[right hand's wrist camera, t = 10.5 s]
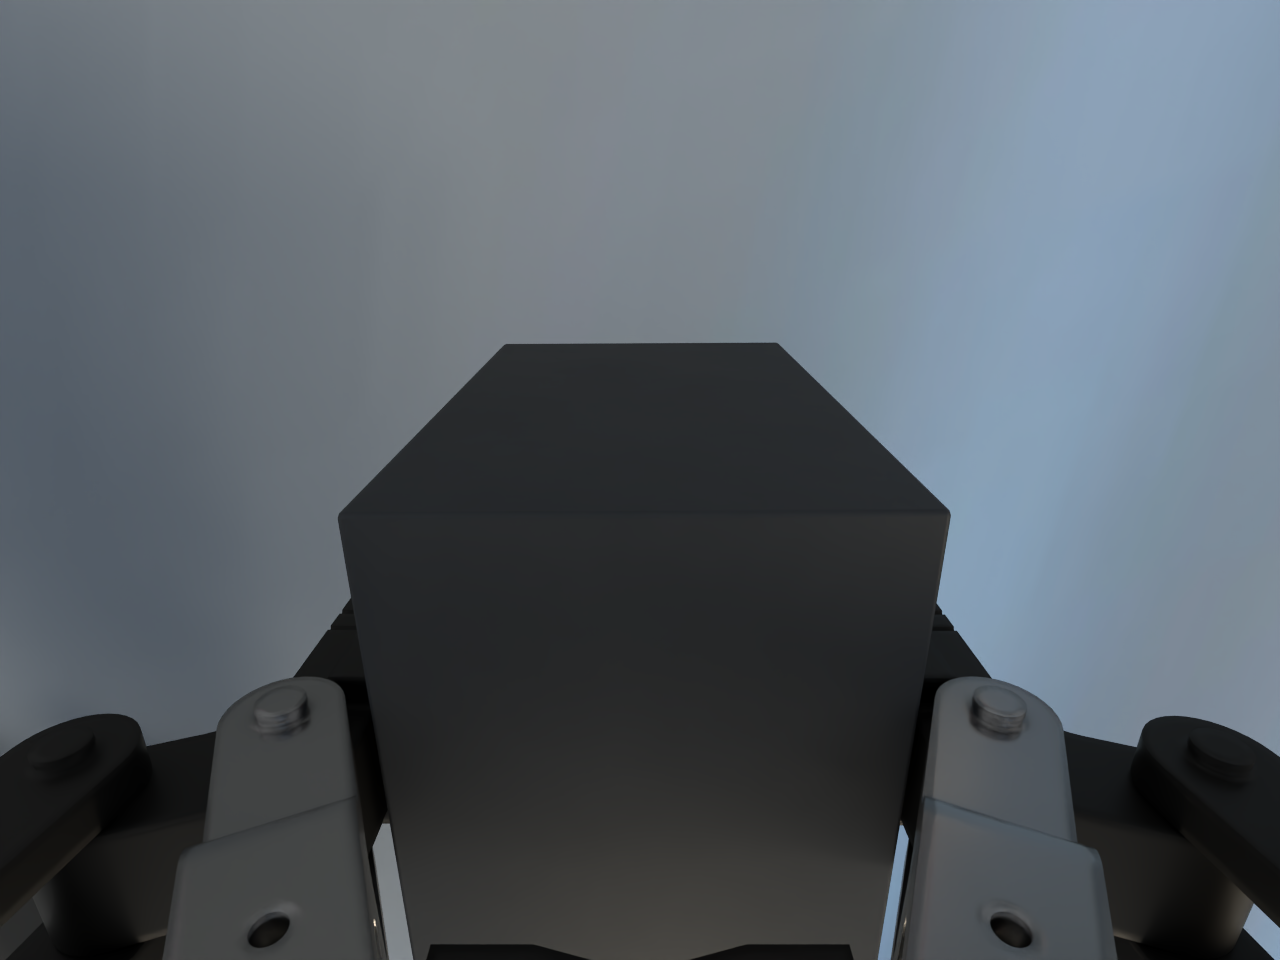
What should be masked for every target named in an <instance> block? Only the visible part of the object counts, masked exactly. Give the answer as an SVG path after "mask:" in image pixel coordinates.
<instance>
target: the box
mask: <svg viewBox="0 0 1280 960" xmlns="http://www.w3.org/2000/svg"><path fill="white" fill-rule="evenodd" d="M950 517H951V514H950V511H949V510H948V509H947V508H946V507H945V506H944V505H943V504H942V503H941V502H940V501H939V500H938V499H937V498H936V497H935V496H934V495H933V494H932V493H931V492H930V491H929V490H928V489H927V488H926V487H925V486H924V485H923V484H922V483H921V482H920V481H919V480H918V479H917V478H916V477H914V476H913V475H912V474H911V473H910V472H909V471H908V470H907V469H906V468H905V467H904V466H903V465H902V464H901V463H900V462H899V461H898V460H897V459H896V458H895V457H894V456H893V455H892V454H891V453H890V452H889V451H888V450H887V449H886V448H885V447H884V446H883V445H882V444H881V443H880V442H879V441H878V440H877V439H876V438H874V437H873V436H872V435H871V434H870V433H869V432H868V431H867V430H866V429H865V428H864V427H863V426H862V425H861V424H860V423H859V422H858V421H857V420H856V419H855V418H854V417H853V416H852V415H851V414H850V413H849V412H848V411H847V410H846V409H845V408H844V407H843V406H842V405H841V404H840V403H839V402H838V401H837V400H835V399H834V398H833V397H832V396H831V395H830V394H829V393H828V392H827V391H826V390H825V389H824V388H823V387H822V386H821V385H820V384H819V383H818V382H817V381H816V380H815V379H814V378H813V377H812V376H811V375H810V374H809V373H808V372H807V371H806V370H805V369H804V368H803V367H802V366H801V365H800V364H799V363H798V362H797V361H795V360H794V359H793V358H792V357H791V356H790V355H789V354H788V353H787V352H786V351H785V350H784V349H783V348H782V347H781V346H780V345H779V344H778V343H632V344H505V345H504V346H503V347H502V348H501V349H500V350H499V351H498V352H497V353H496V354H495V355H494V356H493V357H492V358H491V359H490V360H489V361H488V362H487V363H486V364H485V365H484V366H483V367H482V368H481V369H480V370H479V371H478V372H477V373H476V374H475V375H474V376H473V377H472V378H471V379H470V381H469V382H468V383H467V384H466V385H465V386H464V387H463V388H462V389H461V390H460V391H459V392H458V393H457V394H456V395H455V396H454V397H453V398H452V399H451V400H450V401H449V402H448V403H447V404H446V405H445V406H444V407H443V408H442V409H441V410H440V411H439V412H438V413H437V414H436V415H435V416H434V417H433V418H432V419H431V420H430V421H429V422H428V423H427V424H426V425H425V426H424V428H423V429H422V430H421V431H420V432H419V433H418V434H417V435H416V436H415V437H414V438H413V439H412V440H411V441H410V442H409V443H408V444H407V445H406V446H405V447H404V448H403V449H402V450H401V451H400V452H399V453H398V454H397V455H396V456H395V457H394V458H393V459H392V460H391V461H390V462H389V463H388V464H387V465H386V466H385V467H384V468H383V469H382V470H381V471H380V472H379V473H378V474H377V476H376V477H375V478H374V479H373V480H372V481H371V482H370V483H369V484H368V485H367V486H366V487H365V488H364V489H363V490H362V491H361V492H360V493H359V494H358V495H357V496H356V497H355V498H354V499H353V500H352V501H351V502H350V503H349V504H348V505H347V506H346V507H345V508H344V509H343V510H342V511H341V512H340V513H339V516H338V523H339V529H340V534H341V540H342V546H343V552H344V558H345V564H346V569H347V575H348V581H349V587H350V593H351V599H352V604H353V610H354V616H355V622H356V628H357V634H358V639H359V645H360V651H361V657H362V663H363V669H364V674H365V680H366V686H367V692H368V698H369V704H370V709H371V715H372V721H373V727H374V733H375V739H376V744H377V750H378V756H379V762H380V768H381V774H382V779H383V785H384V791H385V797H386V803H387V808H388V814H389V820H390V826H391V832H392V838H393V843H394V849H395V855H396V861H397V867H398V873H399V878H400V884H401V890H402V896H403V902H404V908H405V913H406V919H407V925H408V931H409V937H410V943H411V948H412V954H413V960H426V959H427V955H428V952H429V948H430V945H431V944H534V945H538V946H542V947H545V948H549V949H553V950H556V951H560V952H564V953H568V954H571V955H575V956H579V957H582V958H586V959H590V960H690V959H694V958H698V957H701V956H705V955H709V954H712V953H716V952H720V951H724V950H727V949H731V948H735V947H738V946H742V945H746V944H849V945H850V948H851V952H852V955H853V959H854V960H877V959H878V953H879V947H880V941H881V935H882V929H883V923H884V917H885V911H886V905H887V899H888V893H889V887H890V881H891V875H892V869H893V863H894V856H895V850H896V844H897V838H898V832H899V826H900V820H901V814H902V808H903V802H904V796H905V790H906V784H907V778H908V772H909V766H910V760H911V754H912V747H913V741H914V735H915V729H916V723H917V717H918V711H919V705H920V699H921V693H922V687H923V681H924V675H925V669H926V663H927V657H928V651H929V644H930V638H931V632H932V626H933V620H934V614H935V608H936V602H937V596H938V590H939V584H940V578H941V572H942V566H943V560H944V554H945V548H946V541H947V535H948V529H949V523H950Z"/></svg>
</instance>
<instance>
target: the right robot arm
mask: <svg viewBox="0 0 1280 960" xmlns="http://www.w3.org/2000/svg"><path fill="white" fill-rule="evenodd" d="M382 823H390V820H389V814H388V808H387V803H386V797H385V791H384V785H383V779H382V774H381V768H380V762H379V756H378V750H377V744H376V739H375V733H374V727H373V721H372V715H371V709H370V704H369V698H368V692H367V686H366V680H365V674H364V669H363V663H362V657H361V651H360V645H359V639H358V634H357V628H356V622H355V616H354V610H353V604H352V599H350V600H349V601H348V603H347V604H346V606H345V607H344V608H343V610H342V614H339V615H338V617H337V618H336V619H335V621H334V622H333V623H332V625H331V630H327V632H326V633H325V635H324V636H323V637H322V639H321V640H320V641H319V643H318V644H317V646H316V647H315V648H314V650H313V651H312V652H311V654H310V655H309V657H308V658H307V659H306V661H305V662H304V663H303V665H302V666H301V668H300V669H299V670H298V672H297V673H296V674H295V676H294V677H293V678H289V679H284V680H280V681H277V682H273V683H270V684H268V685H265V686H262V687H260V688H258V689H256V690H254V691H252V692H250V693H248V694H247V695H245V696H243V697H242V698H241V699H239V700H238V701H236V702H235V703H234V704H233V705H232V706H231V707H230V708H229V709H228V710H227V711H226V712H225V713H224V714H223V716H222V717H221V719H220V721H219V723H218V726H217V731H215V732H211V733H207V734H203V735H198V736H194V737H189V738H184V739H179V740H175V741H170V742H165V743H160V744H156V745H151V746H146V744H145V741H144V738H143V735H142V732H141V728H140V726H139V724H138V723H137V722H136V721H135V720H134V719H132V718H130V717H128V716H125V715H119V714H97V715H91V716H85V717H81V718H77V719H73V720H70V721H67V722H63V723H60V724H58V725H55V726H53V727H50V728H48V729H46V730H43V731H41V732H39V733H37V734H35V735H33V736H31V737H30V738H28V739H26V740H24V741H23V742H21V743H20V744H18V745H17V746H15V747H14V748H12V749H11V750H9V751H8V752H7V753H5V754H4V755H3V756H1V757H0V960H389V955H388V948H387V941H386V934H385V927H384V919H383V912H382V905H381V898H380V891H379V884H378V877H377V870H376V862H375V857H374V852H373V844H374V842H375V839H376V837H377V834H378V832H379V830H380V827H381V825H382ZM900 825H903V826H904V828H905V831H906V833H907V835H908V838H909V840H908V846H907V851H906V857H905V862H904V869H903V876H902V884H901V891H900V898H899V905H898V912H897V919H896V926H895V933H894V941H893V948H892V955H891V960H1274V959H1273V958H1272V957H1271V956H1270V955H1269V954H1268V953H1267V952H1266V951H1265V950H1264V949H1263V948H1262V947H1261V946H1260V945H1259V944H1258V943H1257V942H1256V941H1255V940H1254V939H1253V938H1252V937H1251V936H1250V935H1249V934H1248V933H1247V932H1246V930H1245V929H1244V928H1243V926H1244V924H1245V922H1246V920H1247V917H1248V915H1249V913H1250V910H1251V908H1252V906H1253V904H1255V905H1256V906H1257V907H1259V908H1260V909H1261V910H1262V911H1263V912H1264V913H1265V914H1266V915H1267V916H1268V917H1269V918H1270V919H1271V920H1272V921H1273V922H1274V923H1275V924H1276V925H1277V926H1278V927H1279V928H1280V757H1279V756H1277V755H1276V754H1275V753H1273V752H1272V751H1271V750H1269V749H1268V748H1266V747H1265V746H1263V745H1262V744H1260V743H1258V742H1256V741H1255V740H1253V739H1251V738H1249V737H1247V736H1245V735H1243V734H1241V733H1239V732H1237V731H1235V730H1232V729H1230V728H1227V727H1225V726H1222V725H1219V724H1216V723H1213V722H1209V721H1205V720H1201V719H1197V718H1191V717H1184V716H1164V717H1159V718H1155V719H1153V720H1151V721H1149V722H1148V723H1147V724H1145V726H1144V728H1143V730H1142V733H1141V736H1140V739H1139V742H1138V745H1137V747H1133V746H1128V745H1123V744H1118V743H1114V742H1109V741H1104V740H1099V739H1095V738H1090V737H1085V736H1081V735H1077V734H1073V733H1069V732H1066V731H1063V727H1062V723H1061V721H1060V719H1059V717H1058V716H1057V715H1056V713H1055V712H1054V711H1053V710H1052V709H1051V708H1050V707H1049V706H1048V705H1047V704H1046V703H1045V702H1044V701H1042V700H1041V699H1039V698H1038V697H1037V696H1035V695H1033V694H1032V693H1030V692H1028V691H1026V690H1024V689H1022V688H1020V687H1018V686H1015V685H1012V684H1010V683H1007V682H1003V681H1000V680H996V679H992V678H991V677H990V675H989V674H988V673H987V671H986V670H985V669H984V667H983V666H982V664H981V663H980V662H979V660H978V659H977V658H976V656H975V655H974V654H973V652H972V651H971V650H970V648H969V647H968V645H967V644H966V643H965V641H964V640H963V639H962V637H961V636H960V635H959V633H958V632H957V631H954V626H953V625H952V624H951V622H950V621H949V620H948V618H947V617H946V616H945V615H942V610H941V609H940V607H939V606H938V605H937V603H936V608H935V614H934V620H933V626H932V632H931V638H930V644H929V651H928V657H927V663H926V669H925V675H924V681H923V687H922V693H921V699H920V705H919V711H918V717H917V723H916V729H915V735H914V741H913V747H912V754H911V760H910V766H909V772H908V778H907V784H906V790H905V796H904V802H903V808H902V814H901V820H900ZM426 960H590V959H586V958H582V957H579V956H575V955H571V954H568V953H564V952H560V951H556V950H553V949H549V948H545V947H542V946H538V945H534V944H431V945H430V948H429V952H428V955H427V959H426ZM690 960H854V959H853V955H852V952H851V948H850V945H849V944H746V945H742V946H738V947H735V948H731V949H727V950H724V951H720V952H716V953H712V954H709V955H705V956H701V957H698V958H694V959H690Z"/></svg>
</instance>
